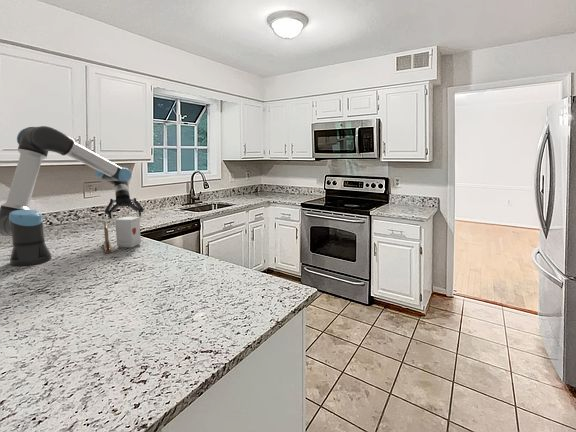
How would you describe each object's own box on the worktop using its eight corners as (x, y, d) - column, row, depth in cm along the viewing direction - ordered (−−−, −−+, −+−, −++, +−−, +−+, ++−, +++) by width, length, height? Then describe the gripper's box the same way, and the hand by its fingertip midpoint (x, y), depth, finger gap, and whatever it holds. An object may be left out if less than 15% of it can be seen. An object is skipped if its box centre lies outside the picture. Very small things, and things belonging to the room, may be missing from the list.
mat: (119, 249, 178) (119, 247, 177) (118, 244, 186) (118, 243, 186) (140, 246, 183) (140, 245, 182) (138, 242, 191) (137, 241, 191)
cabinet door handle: (105, 253, 169) (102, 224, 167) (103, 244, 188) (101, 218, 185) (111, 252, 170) (109, 224, 168) (109, 243, 189) (107, 217, 187)
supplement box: (132, 247, 178) (130, 219, 176) (116, 247, 179) (114, 219, 177) (141, 243, 187) (139, 216, 185) (126, 242, 188) (124, 216, 186)
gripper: (144, 196, 211) (149, 223, 201) (98, 198, 199) (101, 227, 188) (145, 188, 206) (150, 216, 195) (98, 189, 193) (100, 219, 183)
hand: (126, 221), depth 192 cm, fingers open, 13 cm apart
